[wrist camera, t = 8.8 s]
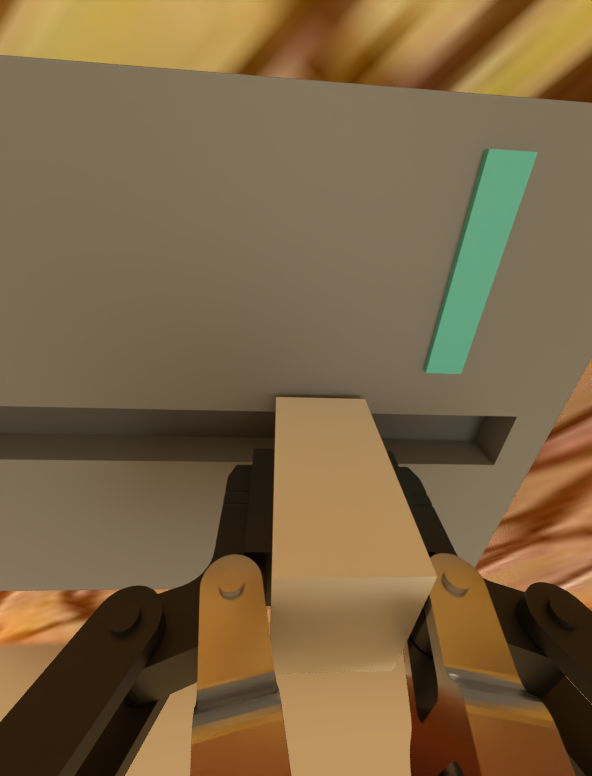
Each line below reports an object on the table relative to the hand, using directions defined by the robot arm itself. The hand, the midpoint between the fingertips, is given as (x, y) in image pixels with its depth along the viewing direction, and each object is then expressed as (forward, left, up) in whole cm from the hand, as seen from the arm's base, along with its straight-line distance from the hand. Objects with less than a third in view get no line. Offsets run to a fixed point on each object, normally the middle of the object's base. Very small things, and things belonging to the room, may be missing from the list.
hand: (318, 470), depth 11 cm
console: (0, -6, -4) cm, 7 cm away
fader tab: (0, 0, -3) cm, 3 cm away
